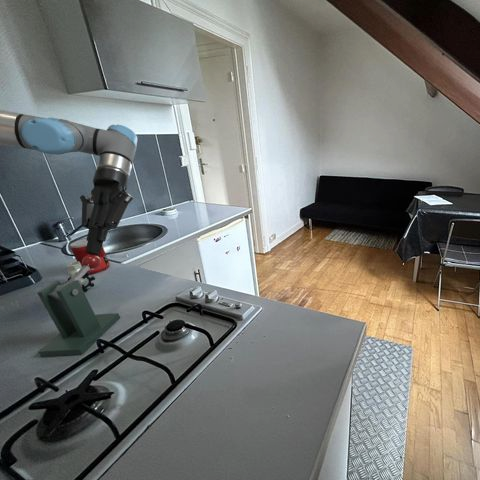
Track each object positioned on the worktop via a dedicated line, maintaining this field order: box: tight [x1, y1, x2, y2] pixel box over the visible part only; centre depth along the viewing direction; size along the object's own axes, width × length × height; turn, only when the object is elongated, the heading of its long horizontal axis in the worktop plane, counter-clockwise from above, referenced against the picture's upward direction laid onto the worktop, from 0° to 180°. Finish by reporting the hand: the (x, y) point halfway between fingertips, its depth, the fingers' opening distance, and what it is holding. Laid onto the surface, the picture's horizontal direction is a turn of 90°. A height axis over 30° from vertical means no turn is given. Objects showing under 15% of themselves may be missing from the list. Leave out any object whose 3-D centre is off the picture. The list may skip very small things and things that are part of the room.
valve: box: [65, 260, 96, 293], centre depth 83 cm, size 7×7×12 cm
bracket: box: [36, 280, 121, 358], centre depth 59 cm, size 12×9×14 cm
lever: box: [49, 255, 101, 302], centre depth 61 cm, size 13×4×4 cm, turn 2°
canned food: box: [69, 237, 111, 275], centre depth 92 cm, size 8×8×11 cm
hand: (92, 253), depth 65 cm, fingers closed
